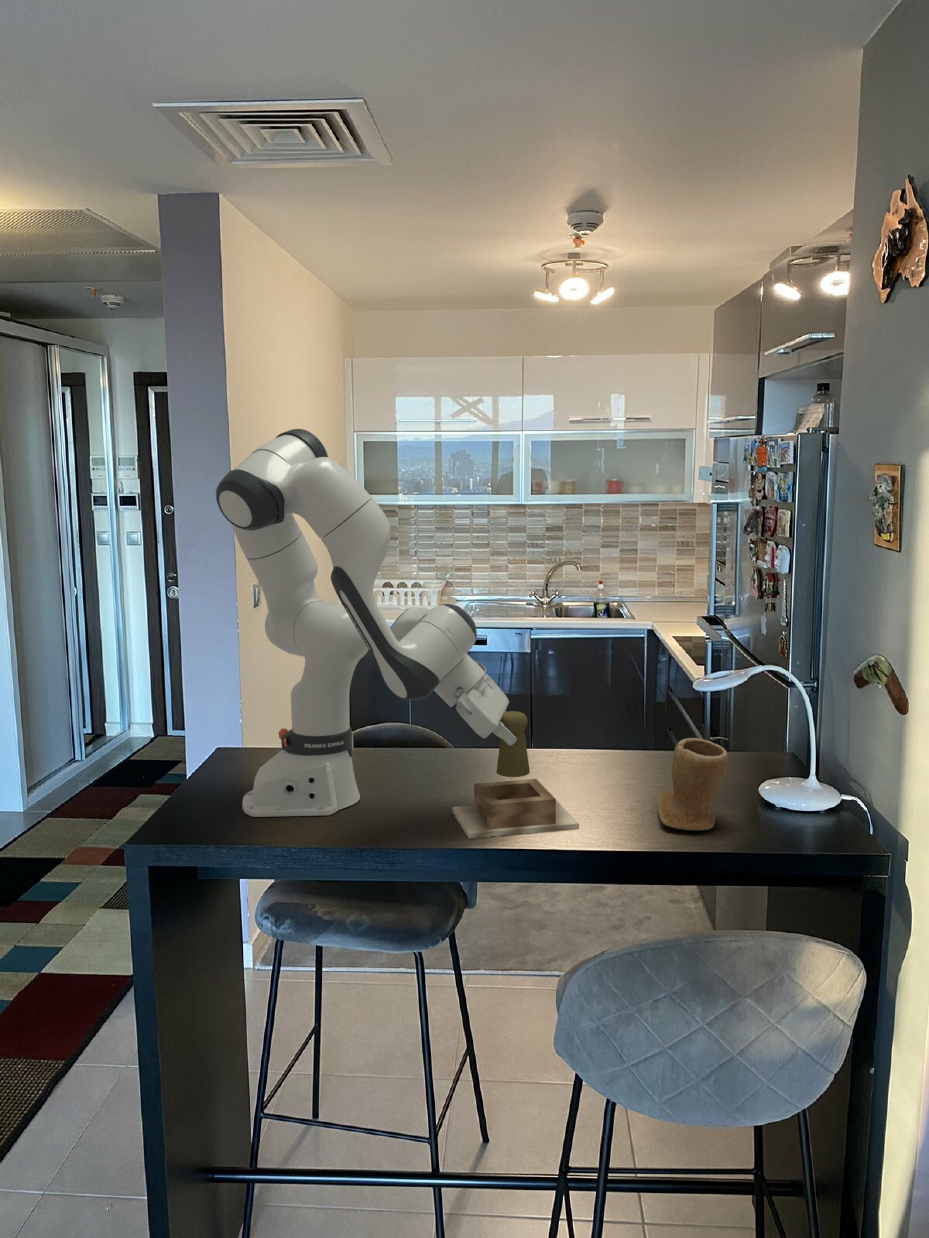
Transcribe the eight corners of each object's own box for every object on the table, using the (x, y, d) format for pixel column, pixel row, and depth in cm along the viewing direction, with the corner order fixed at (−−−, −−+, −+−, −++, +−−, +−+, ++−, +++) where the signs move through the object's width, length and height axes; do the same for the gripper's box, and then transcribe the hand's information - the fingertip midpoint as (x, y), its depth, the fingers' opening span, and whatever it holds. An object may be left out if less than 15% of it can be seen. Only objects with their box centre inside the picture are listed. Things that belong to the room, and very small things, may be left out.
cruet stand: (468, 838, 166) (468, 808, 166) (452, 812, 180) (452, 783, 179) (579, 828, 171) (579, 798, 170) (554, 803, 184) (554, 775, 183)
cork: (522, 765, 177) (522, 707, 176) (535, 774, 172) (535, 714, 170) (491, 769, 175) (491, 710, 174) (503, 778, 170) (503, 717, 168)
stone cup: (728, 838, 166) (730, 753, 163) (657, 833, 168) (659, 750, 166) (722, 808, 180) (724, 730, 178) (657, 805, 183) (659, 728, 180)
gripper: (465, 683, 162) (523, 741, 162) (481, 661, 182) (533, 713, 182) (439, 708, 163) (496, 766, 163) (458, 683, 183) (509, 735, 183)
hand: (516, 738), depth 172 cm, fingers closed on cork, 4 cm apart
